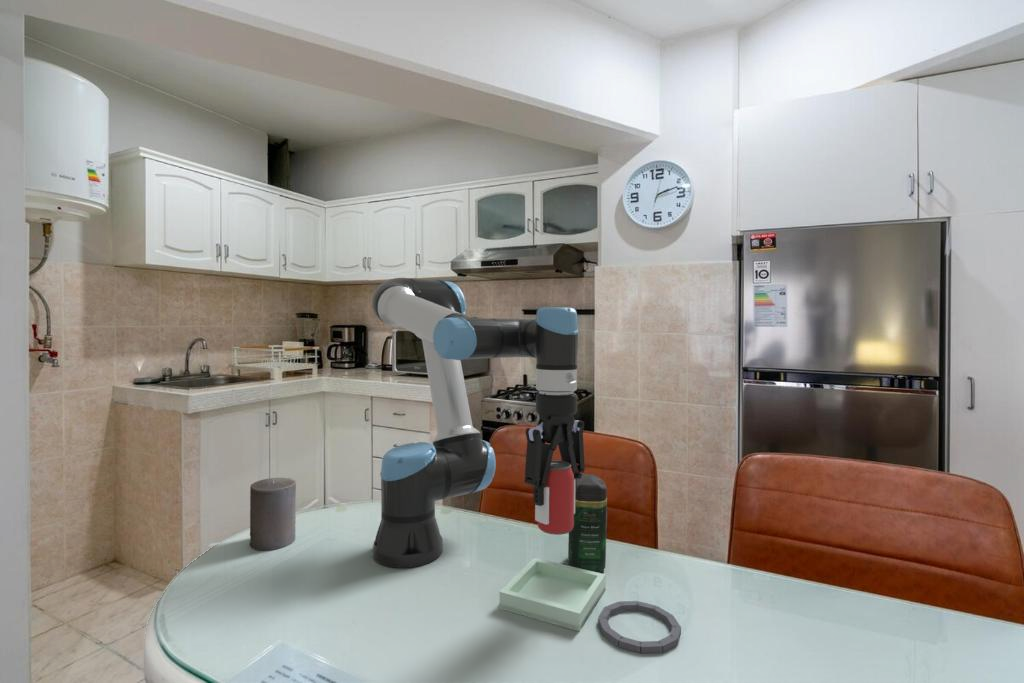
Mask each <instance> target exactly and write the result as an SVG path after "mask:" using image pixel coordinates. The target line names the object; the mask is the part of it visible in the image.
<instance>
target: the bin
mask: <svg viewBox="0 0 1024 683" xmlns="http://www.w3.org/2000/svg"><path fill="white" fill-rule="evenodd" d="M606 576H607V574H605V573H601V572H593V571H589V570H584V569H580V568H576V567H571V566H570V565H566V564H562V563H558V562H554V561H550V560H544V559H540V558H536V557H534V558H532V559H531V560H530V561H529V562H528V563H527V564H526V565H525V566H524V567H523V568H522V569H521V570H520V571H519V572H518V573H517V574H516V575H515V576H514V577H513V578H512V579H511V580H509V582H507V584H506V585H505V586H504V587H502V589H501V590H500V591H499V609H501V610H503V611H507V612H512V613H514V614H518V615H521V616H524V617H528V618H532V619H535V620H539V621H542V622H545V623H549V624H553V625H556V626H559V627H564V628H566V629H570V630H574V631H576V632H581V630H582V628H583V626H584V625H585V623H586V622H587V621H588V619H589V618H590V616H591V614H592V613H593V611H594V609H595V607H596V606H597V604H598V603H599V601H600V600H601V598H602V597H603V594H604V593H605V592H606V580H607V579H606V578H607V577H606Z"/></svg>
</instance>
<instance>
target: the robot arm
mask: <svg viewBox="0 0 1024 683" xmlns="http://www.w3.org/2000/svg"><path fill="white" fill-rule="evenodd" d="M371 309H372V311H373V314H374V315H375V317H376V318H377V319H378V320H379V321H381V322H382V323H384V324H386V325H387V326H389V327H393V328H394V327H395V328H400V327H401V328H403V329H406V330H407V331H409V332H411V333H413V334H414V335H415V336H416V337H417V338H419V339H420V340H421V343H422V347H423V348H422V349H423V355H424V360H425V365H426V366H425V367H426V373H427V378H428V385H429V389H430V396H431V403H432V408H433V413H434V419H435V426H436V431H437V434H436V435H435V437H434V438H433V440H432V443H431V442H425V441H424V442H419V441H418V442H416V443H415V442H409V443H405V444H401V445H397V446H396V447H393V448H391V449H389V450H388V451H387V452H385V454H384V455H383V457H382V459H381V471H380V474H379V475H380V482H381V483H380V486H381V487H380V489H381V490H380V493H381V499H380V502H381V504H380V506H381V507H380V508H381V509H380V511H381V519H380V522H379V527H378V529H377V532H376V536H375V539H374V541H373V545H372V558H373V560H374V561H376V563H378V564H380V565H383V566H385V567H390V568H405V569H406V568H414V567H415V568H416V567H419V566H423V565H427V564H428V563H431V562H433V561H435V560H437V559H438V558H439V557H440V556H441V555H442V554H443V550H444V549H443V548H444V547H443V546H444V545H443V544H444V541H443V537H442V535H441V532H440V528H439V525H438V522H437V521H438V520H437V519H436V518H437V517H436V501H441V500H445V499H446V500H447V499H450V498H454V497H458V496H465V495H471V494H474V493H476V492H480V491H482V490H485V489H487V488H488V487H489V486H490V484H491V483H492V481H493V478H494V476H495V472H496V467H497V466H496V465H497V462H496V455H495V454H496V453H495V450H494V448H493V447H492V446H491V443H490V442H488V441H486V440H483V439H482V435H481V434H482V433H481V431H480V430H478V429H477V428H475V427H474V426H473V421H472V415H471V410H470V405H469V399H468V394H467V388H466V383H465V377H464V372H463V367H462V366H463V365H462V361H464V360H475V359H477V360H478V359H481V360H482V359H501V358H502V359H504V358H505V359H506V358H535V361H536V364H535V368H536V369H535V370H536V371H535V390H536V391H538V392H537V393H536V394H535V412H536V413H537V414H538V421H537V425H536V426H535V427H533V428H531V427H527V428H526V429H525V436H526V440H527V441H526V442H527V443H526V453H525V454H526V456H525V466H524V467H525V468H524V483H525V484H526V485H529V486H532V487H533V504H534V505H535V506H534V521H536V522H537V523H538V522H540V523H543V524H546V525H547V524H549V487H547V486H546V483H547V478H548V474H549V469H550V465H551V461H552V460H553V455H554V452H555V450H557V448H558V449H559V454H560V457H561V458H560V459H561V461H565V462H568V463H570V464H571V468H572V471H573V474H574V514H575V494H576V491H577V486H576V485H577V478H578V479H580V478H581V477H582V474H584V472H585V471H586V470H585V469H586V467H585V466H586V465H585V447H584V429H585V421H582V420H576V419H575V417H574V415H576V414H577V412H578V394H576V393H575V392H576V391H577V390H578V342H579V340H578V338H579V326H578V325H579V324H578V313H577V310H576V309H575V308H573V307H566V306H565V307H564V306H562V307H561V306H559V307H555V306H554V307H553V306H552V307H550V306H548V307H540V308H538V309H537V310H536V316H535V318H492V317H491V318H483V317H482V318H481V317H471V316H468V315H466V312H465V311H466V309H467V304H466V299H465V295H464V293H463V291H462V290H461V288H460V287H459V286H458V285H457V284H455V283H454V282H451V281H446V280H443V279H420V278H407V277H395V278H391V279H388V280H386V281H384V282H382V283H381V284H379V285H378V286H377V287H376V288H375V290H374V292H373V294H372V298H371ZM539 478H540V480H539Z"/></svg>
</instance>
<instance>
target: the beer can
mask: <svg viewBox="0 0 1024 683" xmlns="http://www.w3.org/2000/svg"><path fill="white" fill-rule="evenodd" d="M539 480H540V478H539ZM546 486H547V487H549V524H547V525H546V524H543V523H540V522H538V521H537V528H538V529H539V530H540V531H542V532H543V533H545V534H548V535H555V536H557V535H566V534H569V532H570V531H571V530H572V529H573V527H574V474H573V471H572V468H571V464H570V463H568V462H565V461H562V460H559V459H558V460H556V459H555V460H554V459H552V461H551V465H550V469H549V474H548V478H547V483H546Z"/></svg>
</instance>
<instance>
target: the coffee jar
mask: <svg viewBox="0 0 1024 683" xmlns="http://www.w3.org/2000/svg"><path fill="white" fill-rule="evenodd" d="M581 474H582V477H581V478H580V479H578V478H577V485H576V486H577V491H576V494H575V514H574V527H573V529H572V530H571V531H570V532H569V533H568V543H567V544H568V545H567V546H568V550H567V552H568V553H567V554H568V555H567V556H568V558H567V560H568V566H571V567H576V568H580V569H584V570H589V571H593V572H597V573H601V572H603V571H604V570H605V568H606V563H607V562H606V559H607V557H606V556H607V530H608V529H607V526H608V524H607V523H608V522H607V521H608V520H607V519H608V494H607V493H608V489H607V484H606V482H605V481H604V479H602V478H600V477H599V476H598V475H596V474H589V473H588V474H587V473H586V474H585V473H581Z"/></svg>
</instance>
